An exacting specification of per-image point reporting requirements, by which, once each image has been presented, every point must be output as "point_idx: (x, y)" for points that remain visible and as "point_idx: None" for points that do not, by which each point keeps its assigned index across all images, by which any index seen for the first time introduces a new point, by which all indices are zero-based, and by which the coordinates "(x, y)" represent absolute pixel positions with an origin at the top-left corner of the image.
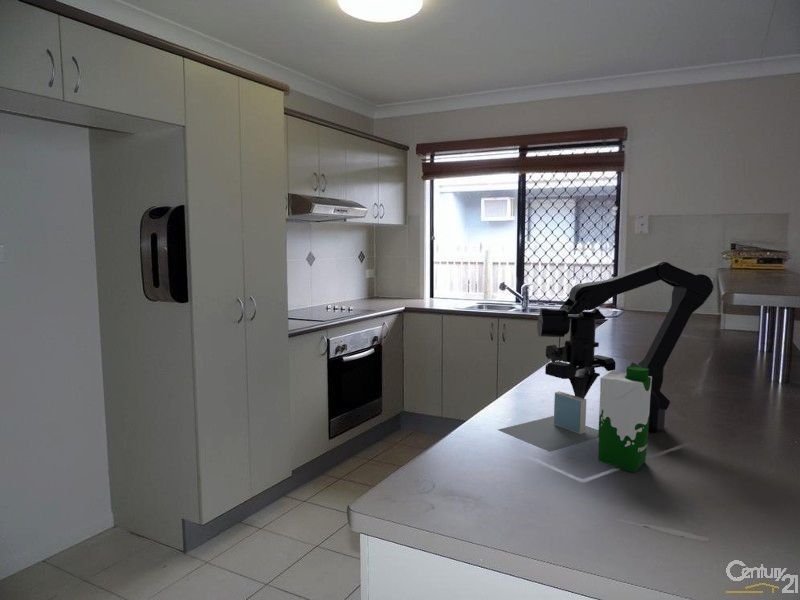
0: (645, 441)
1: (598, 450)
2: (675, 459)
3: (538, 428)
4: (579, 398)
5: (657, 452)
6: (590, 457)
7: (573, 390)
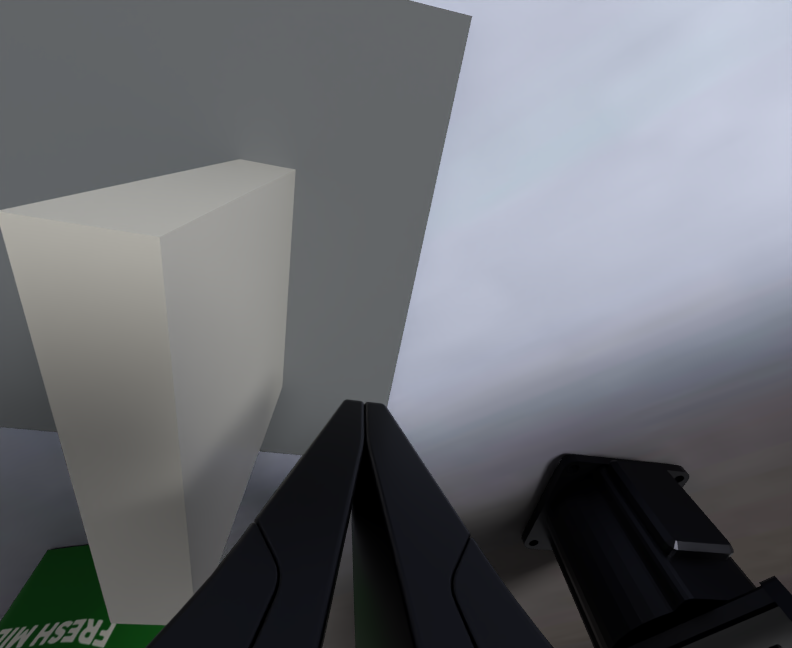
0: None
1: (18, 595)
2: (337, 632)
3: (38, 125)
4: (143, 587)
5: (351, 595)
6: (66, 510)
7: (280, 486)
